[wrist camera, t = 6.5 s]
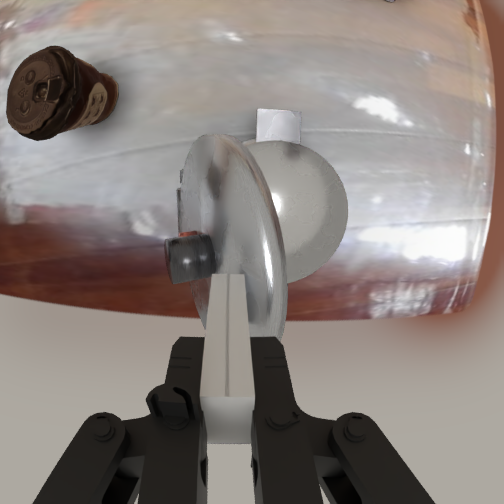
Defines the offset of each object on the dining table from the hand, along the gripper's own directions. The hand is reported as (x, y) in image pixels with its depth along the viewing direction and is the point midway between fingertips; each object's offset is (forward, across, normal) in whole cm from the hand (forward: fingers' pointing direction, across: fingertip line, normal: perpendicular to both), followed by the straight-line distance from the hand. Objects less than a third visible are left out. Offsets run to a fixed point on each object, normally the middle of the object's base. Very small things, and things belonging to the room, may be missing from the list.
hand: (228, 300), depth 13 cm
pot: (+21, +4, 0) cm, 22 cm away
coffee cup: (+22, -16, +12) cm, 30 cm away
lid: (+6, 0, 0) cm, 6 cm away
